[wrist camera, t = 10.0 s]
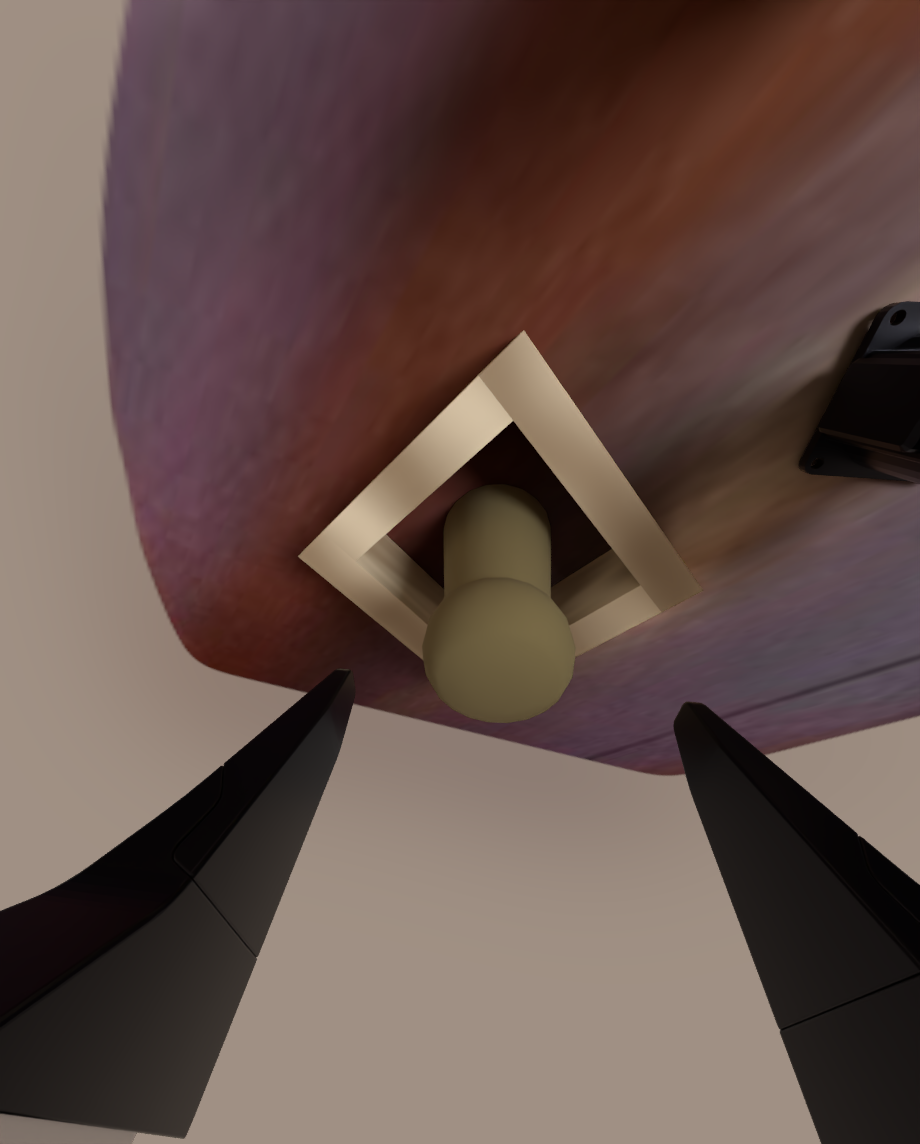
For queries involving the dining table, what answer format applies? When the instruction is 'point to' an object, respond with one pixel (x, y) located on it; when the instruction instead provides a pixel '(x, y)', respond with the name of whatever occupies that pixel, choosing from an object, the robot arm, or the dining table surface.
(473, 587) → the olive round-headed peg
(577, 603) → the socket block
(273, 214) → the dining table surface
